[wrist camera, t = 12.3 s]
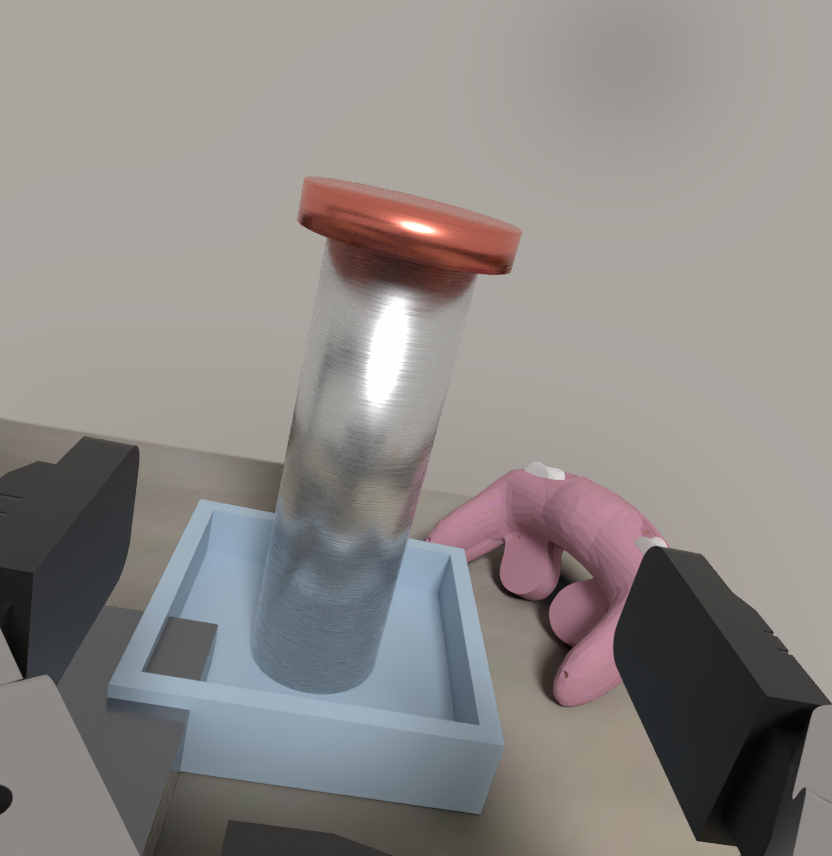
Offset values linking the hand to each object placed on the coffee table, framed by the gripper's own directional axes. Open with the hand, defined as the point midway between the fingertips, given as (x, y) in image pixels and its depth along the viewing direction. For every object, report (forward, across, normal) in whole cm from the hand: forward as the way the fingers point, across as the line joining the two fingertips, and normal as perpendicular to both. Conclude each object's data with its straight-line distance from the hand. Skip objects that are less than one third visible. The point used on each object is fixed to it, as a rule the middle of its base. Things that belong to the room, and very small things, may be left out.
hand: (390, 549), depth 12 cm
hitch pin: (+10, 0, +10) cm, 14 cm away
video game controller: (+15, -8, +10) cm, 20 cm away
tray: (+10, 0, +10) cm, 14 cm away
